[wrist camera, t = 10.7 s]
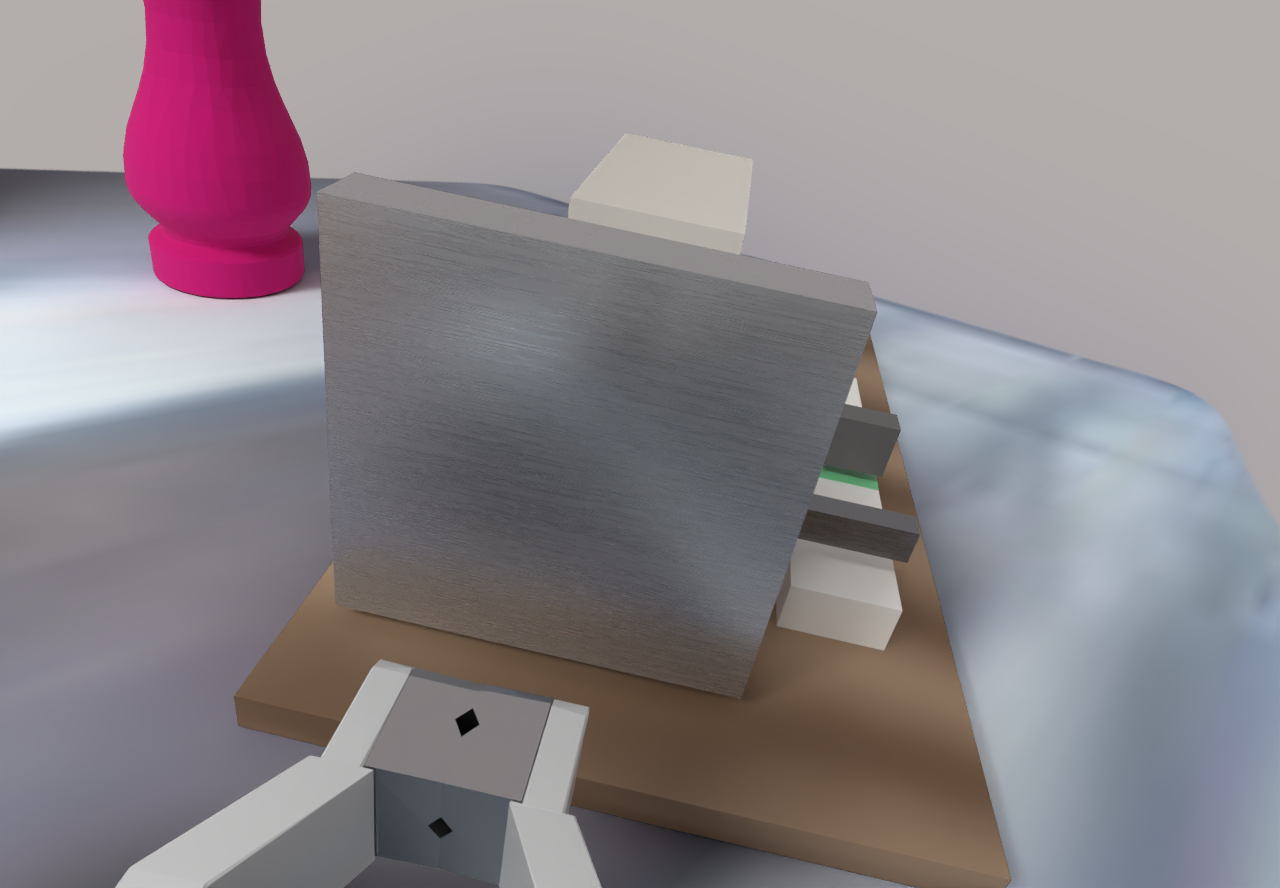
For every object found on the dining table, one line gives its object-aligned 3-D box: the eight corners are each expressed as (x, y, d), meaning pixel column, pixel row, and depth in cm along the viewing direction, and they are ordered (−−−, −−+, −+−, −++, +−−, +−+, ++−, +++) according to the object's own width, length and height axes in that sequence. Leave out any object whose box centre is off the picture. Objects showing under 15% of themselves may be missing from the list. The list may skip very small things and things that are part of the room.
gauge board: (992, 905, 17) (1010, 880, 17) (238, 725, 18) (233, 696, 17) (862, 345, 43) (868, 328, 42) (552, 278, 43) (554, 260, 43)
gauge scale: (883, 650, 22) (902, 610, 21) (776, 625, 22) (791, 585, 21) (845, 409, 34) (856, 377, 33) (775, 394, 34) (784, 362, 33)
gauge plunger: (907, 737, 19) (1108, 361, 14) (335, 605, 19) (316, 191, 14) (844, 373, 36) (924, 141, 30) (538, 307, 36) (564, 67, 31)
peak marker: (881, 477, 26) (900, 430, 25) (790, 456, 26) (806, 409, 25) (878, 461, 27) (896, 415, 26) (790, 441, 27) (805, 394, 26)
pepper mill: (245, 319, 34) (183, -313, 23) (101, 275, 35) (-22, -348, 24) (346, 269, 40) (332, -251, 29) (220, 233, 41) (163, -281, 30)
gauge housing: (698, 424, 31) (745, 234, 27) (546, 391, 31) (570, 197, 27) (717, 309, 41) (753, 159, 37) (602, 284, 41) (625, 132, 37)
